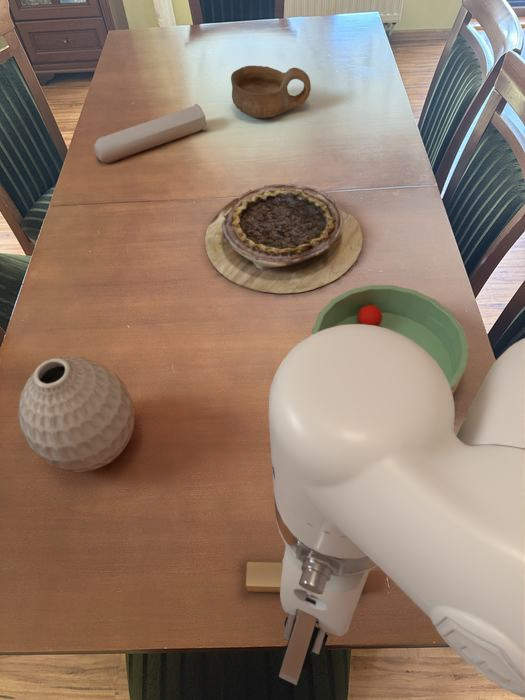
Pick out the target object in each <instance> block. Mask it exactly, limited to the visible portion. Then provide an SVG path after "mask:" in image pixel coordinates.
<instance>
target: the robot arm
mask: <svg viewBox="0 0 525 700" xmlns="http://www.w3.org/2000/svg"><path fill="white" fill-rule="evenodd" d="M454 400H455V399H454V394H453V395H452V391H451V388H450V385H449V382H448V380H447V378H446V376H445V374H444V372H443V370H442V369H441V368H440V366H439V365H438V363H437V362H436V361H435V360H434V359H433V358H432V357H431V355H430V354H429V353H428V352H427V351H426V350H425V349H423V348H422V347H421V346H419V345H418V344H417V343H416V342H414V341H413V340H411V339H409V338H407V337H406V336H404V335H402V334H400V333H397V332H395V331H392V330H390V329H387V328H382V327H378V326H374V325H365V324H346V325H339V326H335V327H331V328H327V329H324V330H322V331H320V332H317V333H315V334H312V333H311V335H308V336H307V337H306V338H304V339H302V340H301V341H299V343H297V344H296V345H295V346H294V347H293V348H291V350H290V351H289V352H288V353H287V354H286V356H285V357H284V358H283V360H282V361H280V364H279V366H278V368H277V369H276V371H275V373H274V376H273V379H272V381H271V385H270V390H269V396H268V427H269V440H270V441H269V442H270V454H271V468H272V470H271V471H272V483H273V485H272V486H273V498H274V500H273V501H274V511H275V521H276V526H277V529H278V532H279V535H280V537H281V539H282V540H283V542H284V544H285V547H284V553H283V557H282V563H283V568H282V576H281V587H280V592H279V598H280V599H279V600H280V603H281V608H282V609H283V611H284V612H285V613H286V614H288V616H286V618H285V621H284V623H283V624H284V630H283V635H282V639H283V640H285V641H287V644H285V646H283V647H282V649H281V652H280V657H281V663H282V664H281V667H280V671H279V674H278V678H280V679H282V680H285V681H287V682H289V683H290V684H292V685H294V686H297V685H298V682H299V679H300V676H301V674H302V673H305V672H306V671H307V669H308V670H309V669H310V667H311V663H312V661H313V659H312V658H311V654H312V653H314V654H315V655H318V656H319V655H320V651H321V650H323V651H324V650H325V647H326V644H327V641H328V637H329V635H332V636H335V637H342V636H344V635H346V634H347V633H348V632H349V629H350V626H351V623H352V620H353V617H354V614H355V612H356V609H357V606H358V604H359V601H360V598H361V595H362V593H363V590H364V587H365V586H366V585H365V584H366V582H367V579H368V576H369V573H370V571H371V570H373V569H375V568H377V567H378V568H379V569H380V570H381V571H382V572H383V573H384V574H385V575H386V576H387V577H388V578H389V579H390V581H392V582H393V583H394V584H395V585H396V586H397V587H398V588H399V589H400V590H401V591H402V592H403V593H404V594H405V595H406V596H407V597H408V598H409V599H410V600H411V601H412V602H413V603H414V604H415V605H416V607H418V608H419V609H420V610H421V611H422V612H423V613H424V614H425V615H426V616H427V617H428V618H429V619H430V620H431V623H432V625H433V626H434V629H435V630H436V632H437V633H438V635H439V636H440V637H441V638H442V639H443V641H444V642H445V643H446V644H447V645H448V646H449V647H450V649H452V650H453V652H454V653H455V654H456V655H458V656H459V658H461V659H462V660H463V661H464V662H465V663H467V664H468V665H469V666H470V667H471V668H472V669H474V670H475V671H477V672H478V673H479V674H480V675H482V676H483V677H485V678H486V679H487V680H489V681H491V682H492V683H494V684H496V685H497V686H499V687H501V688H503V689H505V690H507V691H509V692H510V693H512V694H514V695H516V696H518V697H522V698H524V699H525V337H524V338H522V339H520V340H518V341H516V342H515V343H513V344H512V345H510V346H509V347H508V348H507V349H506V350H505V351H504V352H503V353H502V354H501V355H500V356H499V357H498V358H496V360H495V361H494V362H493V364H492V366H490V368H489V369H488V372H487V374H486V376H485V378H484V379H483V381H482V383H481V385H480V387H479V388H478V390H477V392H476V395H475V396H474V398H473V400H472V402H471V404H470V406H469V408H468V410H467V413H466V415H465V416H464V419H463V421H462V422H461V425H460V427H459V430H458V431H457V434H456V432H455V416H456V415H455V414H456V413H455V411H456V410H455V409H456V408H455V401H454ZM316 624H317V626H316ZM328 634H329V635H328Z"/></svg>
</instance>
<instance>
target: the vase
mask: <svg viewBox="0 0 525 700" xmlns="http://www.w3.org/2000/svg"><path fill="white" fill-rule="evenodd" d="M21 390H22V391H21V393H20V397H19V402H18V420H19V426H20V430H21V434H22V436H23V438H24V439H25V442H26V443H27V444H28V446H29V447H30V449H31V450H32V451H33V452H34V453H35V454H36V455H37V456H38V457H39V458H40V459H41V460H43V461H44V462H45V463H47V464H48V465H50V466H53V467H54V468H58V469H60V470H63V471H67V472H76V473H77V472H79V473H80V472H81V473H83V472H91V471H94V470H98V469H100V468H103V467H105V466H107V465H108V464H110V463H112V462H113V461H115V460H116V459H117V458H118V457H119V456H120V455H121V454H122V453H123V451H124V450H125V449H126V447H127V446H128V445H129V442H130V440H131V437H132V435H133V433H134V428H135V406H134V402H133V400H132V396H131V393H130V391H129V389H128V388H127V386H126V384H125V383H124V381H123V380H122V379H121V378H120V376H118V374H117V373H115V372H114V371H113V370H112V369H110V368H109V367H108V366H107V365H104V364H102V363H100V362H98V361H96V360H94V359H90V358H87V357H82V356H63V357H52V358H49V359H47V360H44V361H43V362H41V363H40V364H39V365H37V367H36V368H35V370H34V372H33V373H32V374H31V375H30V376H29V377H28V379H27V381H26V382H25V384H24V386H23V387H22V389H21Z"/></svg>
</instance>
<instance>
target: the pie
mask: <svg viewBox="0 0 525 700" xmlns="http://www.w3.org/2000/svg"><path fill="white" fill-rule="evenodd" d="M204 244H205V252H206V254H207V257H208V259H209V261H210V263H211V264H212V266H213V267H214V268H215V270H217V271H218V272H219V274H221V275H223V277H224V278H226V279H227V280H229V281H231V282H232V283H235V284H237V285H239V286H242V287H244V288H248V289H250V290H254V291H259V292H264V293H271V294H298V293H303V292H308V291H312V290H315V289H318V288H321V287H323V286H325V285H327V284H329V283H332V282H334V281H335V280H337V279H339V278H340V277H341V276H343V275H344V274H346V273H347V271H348V270H350V268H351V267H352V266H353V265H354V263H356V261H357V260H358V257H359V255H360V253H361V251H362V248H363V247H362V246H363V233H362V229H361V226H360V223H359V222H358V220H357V219H356V218H355V217H354V216H353V215H352V214H348V213H347V212H344V211H343V210H342V208H339V207H337V205H336V202H335V200H334V199H333V198H332V197H330V196H328V194H327V193H326V192H322V191H321V190H318V189H317V188H315V187H311V186H306V185H300V184H294V183H275V184H268V185H264V186H261V187H257V188H253V189H249V190H248V191H247V192H245V193H242V194H241V196H239V197H238V198H234V199H233V200H231V201H230V202H228V203H227V204H226V205H224V207H222V208H221V209H220V210H219V212H217V214H216V215H215V217H214V218H213V219H212V221H211V222H210V223H209V225H208V227H207V229H206V233H205V237H204Z"/></svg>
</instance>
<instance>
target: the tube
mask: <svg viewBox="0 0 525 700" xmlns="http://www.w3.org/2000/svg"><path fill="white" fill-rule="evenodd" d="M206 129H207V119H206V115H205V113H204V111H203V109H202V107H201V106H200V105H199V104H198V103H194V105H192V106H189V107H186V108H184V109H181V110H180V109H179V110H178V111H174V112H171V113H169V114H165V115H163V116H160V117H157V118H154V119H151V120H148V121H145V122H143V123H139V124H137V125H134V126H131V127H128V128H125V129H121V130H119V131H116V132H113V133H110V134H107V135H105V136H101V137H98V138H97V140H96V141H95V143H94V145H93V149H94V153H95V155H96V157H97V158H98V160H100V161H101V162H103V163H106V164H111V163H113V162H115V161H119V160H122V159H125V158H127V157H130V156H133V155H135V154H140V153H141V152H144V151H147V150H149V149H152V148H155V147H158V146H161V145H164V144H166V143H170V142H172V141H176V140H178V139H181V138H183V137H186V136H189V135H192V134H195V133H197V132H198V133H199V132H200V131H203V132H204V131H206Z"/></svg>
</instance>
